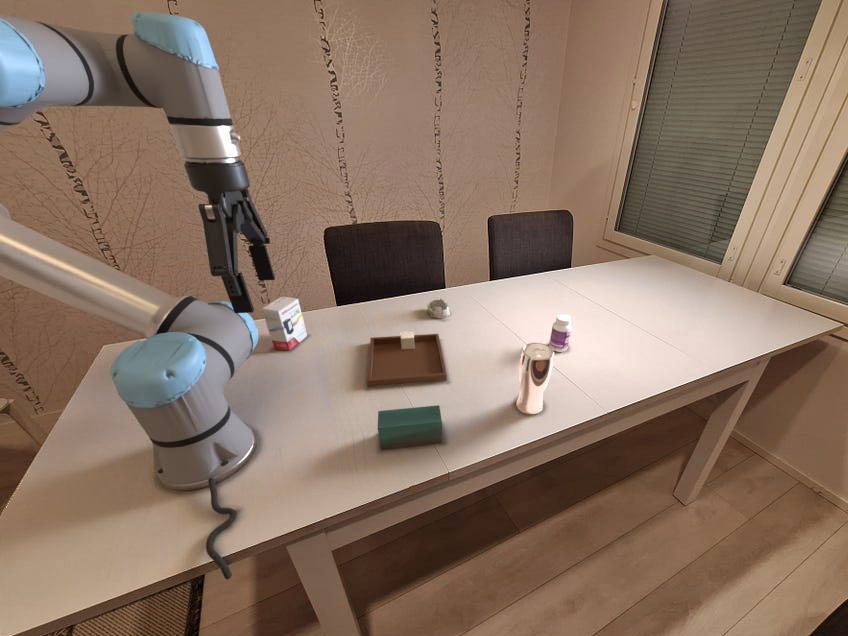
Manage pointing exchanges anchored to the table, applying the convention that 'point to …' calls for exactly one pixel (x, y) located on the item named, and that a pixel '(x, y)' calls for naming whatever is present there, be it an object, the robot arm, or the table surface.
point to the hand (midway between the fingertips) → (256, 294)
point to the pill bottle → (560, 333)
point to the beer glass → (534, 376)
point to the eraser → (409, 427)
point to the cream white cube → (407, 340)
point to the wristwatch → (438, 303)
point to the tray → (405, 361)
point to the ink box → (285, 323)
